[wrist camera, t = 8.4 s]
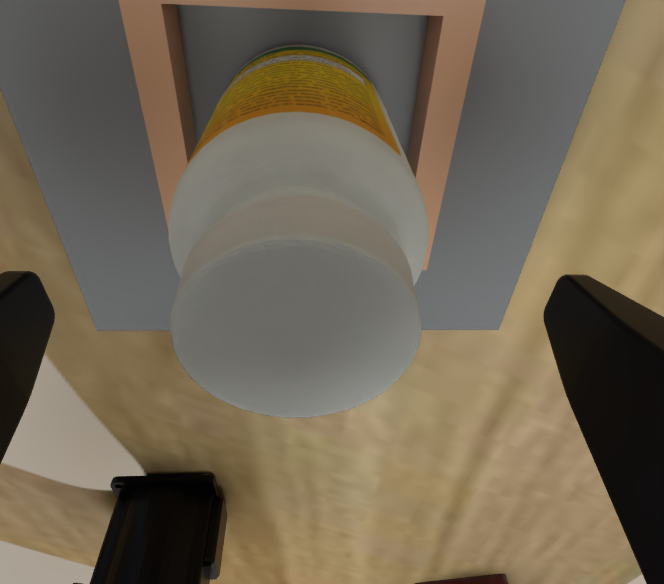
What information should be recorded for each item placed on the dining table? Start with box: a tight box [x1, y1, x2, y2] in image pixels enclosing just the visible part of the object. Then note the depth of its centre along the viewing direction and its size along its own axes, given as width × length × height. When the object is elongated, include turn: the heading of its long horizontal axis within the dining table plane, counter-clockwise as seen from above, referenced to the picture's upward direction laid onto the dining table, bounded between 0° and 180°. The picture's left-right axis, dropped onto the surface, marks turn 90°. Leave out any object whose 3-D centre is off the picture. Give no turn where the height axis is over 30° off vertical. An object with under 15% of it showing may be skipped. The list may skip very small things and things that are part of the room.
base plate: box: [0, 0, 625, 331], centre depth 14 cm, size 18×18×2 cm
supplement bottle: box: [168, 45, 429, 418], centre depth 11 cm, size 5×5×10 cm
